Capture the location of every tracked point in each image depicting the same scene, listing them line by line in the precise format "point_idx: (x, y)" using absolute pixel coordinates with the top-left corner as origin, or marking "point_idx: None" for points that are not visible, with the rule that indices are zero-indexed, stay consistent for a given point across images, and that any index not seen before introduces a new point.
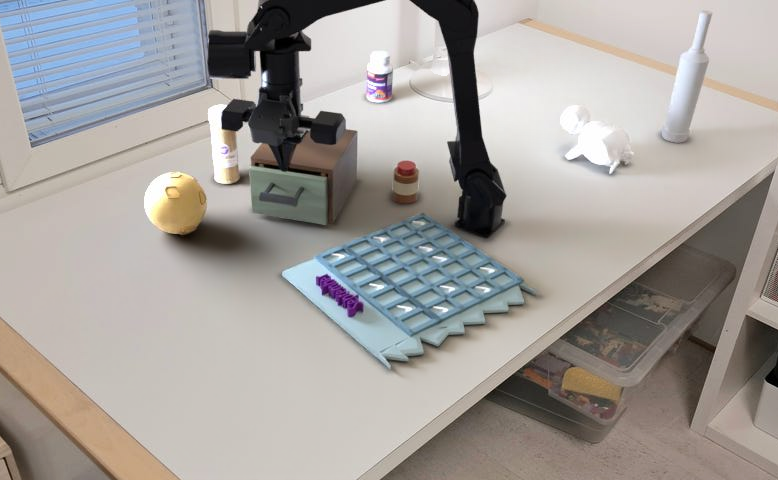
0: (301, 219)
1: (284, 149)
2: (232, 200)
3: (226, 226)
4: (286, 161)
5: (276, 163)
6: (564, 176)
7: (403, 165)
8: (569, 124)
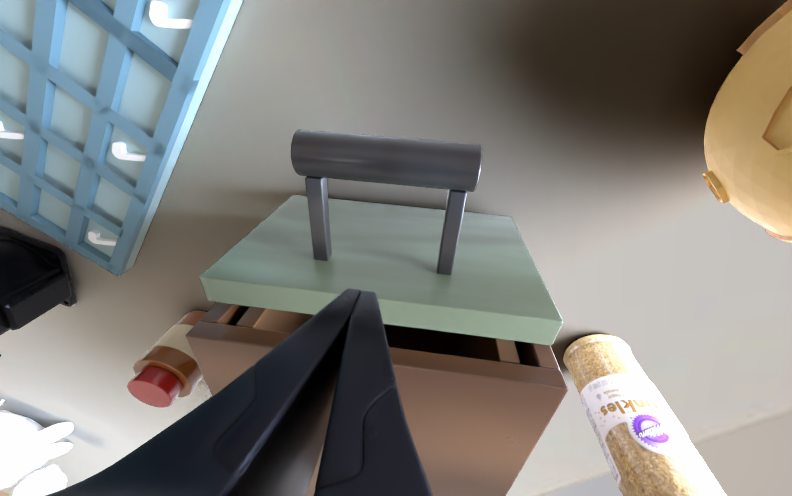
0: (360, 203)
1: (250, 435)
2: (575, 276)
3: (587, 148)
4: (307, 333)
5: (437, 362)
6: (44, 392)
7: (153, 392)
8: (37, 482)
